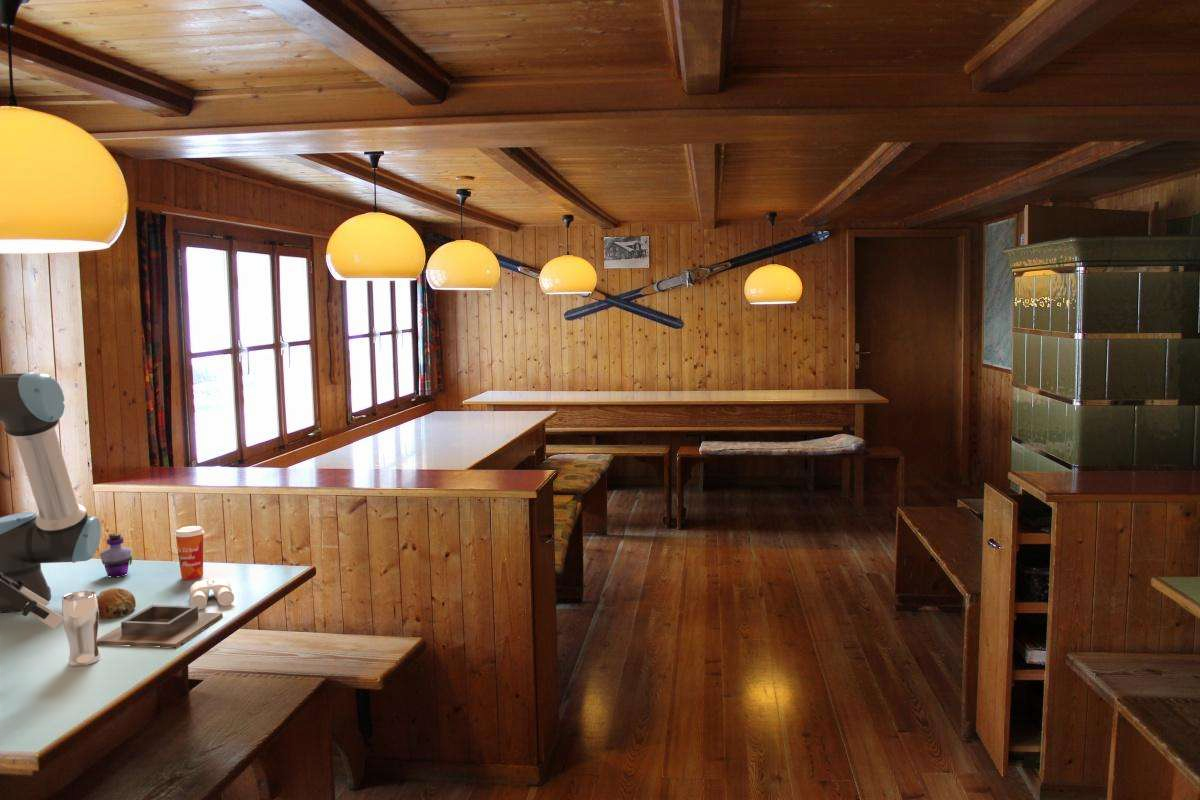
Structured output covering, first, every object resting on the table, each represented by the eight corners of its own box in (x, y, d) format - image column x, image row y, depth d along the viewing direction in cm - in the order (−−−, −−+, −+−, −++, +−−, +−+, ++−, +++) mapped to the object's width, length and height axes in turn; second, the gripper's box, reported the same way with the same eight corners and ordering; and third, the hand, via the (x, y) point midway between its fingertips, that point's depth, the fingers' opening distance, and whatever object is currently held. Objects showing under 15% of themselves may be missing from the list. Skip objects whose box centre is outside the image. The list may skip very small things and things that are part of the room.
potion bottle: (138, 574, 265) (135, 534, 264) (106, 581, 260) (102, 539, 258) (129, 568, 272) (126, 528, 270) (96, 574, 266) (93, 534, 264)
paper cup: (172, 581, 259) (169, 532, 257) (185, 572, 267) (182, 525, 265) (199, 581, 259) (196, 532, 257) (212, 572, 266) (209, 525, 265)
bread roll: (137, 619, 240) (136, 588, 242) (133, 614, 231) (132, 582, 233) (94, 625, 236) (94, 593, 238) (88, 620, 227) (88, 587, 229)
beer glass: (91, 667, 200) (85, 600, 198) (59, 667, 200) (53, 600, 198) (109, 654, 207) (103, 589, 205) (78, 654, 207) (72, 590, 205)
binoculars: (190, 612, 234) (189, 594, 234) (188, 594, 249) (187, 577, 248) (234, 606, 239) (233, 588, 238) (230, 588, 253) (229, 572, 253)
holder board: (95, 644, 213) (93, 628, 212) (148, 614, 232) (146, 599, 232) (176, 648, 210) (174, 631, 210) (222, 617, 230) (221, 601, 229)
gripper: (-63, 563, 193) (25, 615, 205) (-44, 590, 175) (52, 646, 187) (-35, 534, 196) (51, 587, 208) (-13, 558, 178) (79, 614, 190)
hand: (51, 615), depth 197 cm, fingers open, 13 cm apart
